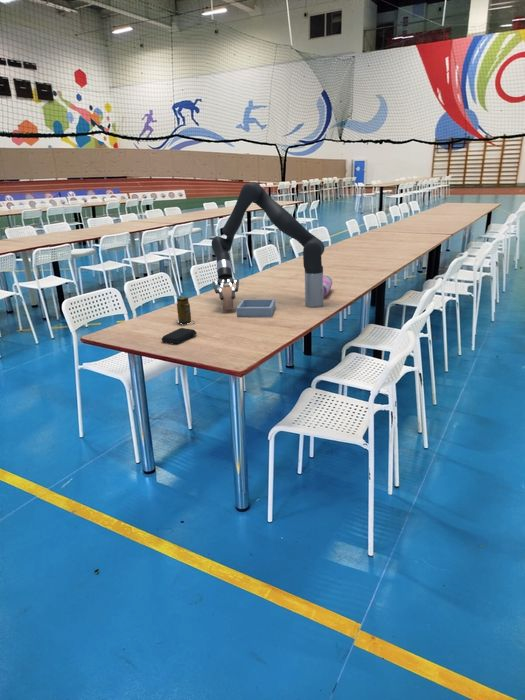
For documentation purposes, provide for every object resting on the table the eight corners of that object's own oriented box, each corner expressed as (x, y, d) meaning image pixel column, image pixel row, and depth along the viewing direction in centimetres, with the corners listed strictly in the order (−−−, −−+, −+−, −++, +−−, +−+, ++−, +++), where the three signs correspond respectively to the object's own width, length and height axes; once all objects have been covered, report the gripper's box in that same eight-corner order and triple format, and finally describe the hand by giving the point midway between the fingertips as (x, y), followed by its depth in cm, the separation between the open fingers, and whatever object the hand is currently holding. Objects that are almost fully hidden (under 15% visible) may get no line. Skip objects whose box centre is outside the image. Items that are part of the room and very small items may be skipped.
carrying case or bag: (179, 346, 200) (200, 335, 211) (178, 339, 198) (199, 329, 210) (159, 343, 205) (181, 332, 216) (159, 336, 204) (180, 326, 215)
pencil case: (326, 300, 256) (326, 283, 253) (309, 299, 259) (309, 283, 255) (333, 290, 275) (333, 274, 272) (317, 289, 277) (317, 274, 274)
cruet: (234, 306, 245) (232, 282, 240) (232, 309, 240) (230, 285, 235) (224, 306, 245) (222, 282, 241) (222, 309, 241) (220, 285, 236)
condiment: (189, 319, 234) (186, 295, 230) (195, 323, 227) (193, 298, 223) (175, 321, 231) (172, 297, 227) (181, 326, 224) (178, 301, 220)
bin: (275, 307, 246) (275, 299, 244) (271, 317, 231) (271, 308, 230) (243, 307, 249) (242, 299, 247) (237, 316, 234) (236, 308, 232)
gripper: (210, 267, 242) (213, 296, 235) (238, 265, 243) (242, 294, 236) (210, 275, 248) (213, 304, 242) (238, 273, 250) (241, 301, 243)
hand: (227, 298), depth 239 cm, fingers closed on cruet, 5 cm apart
